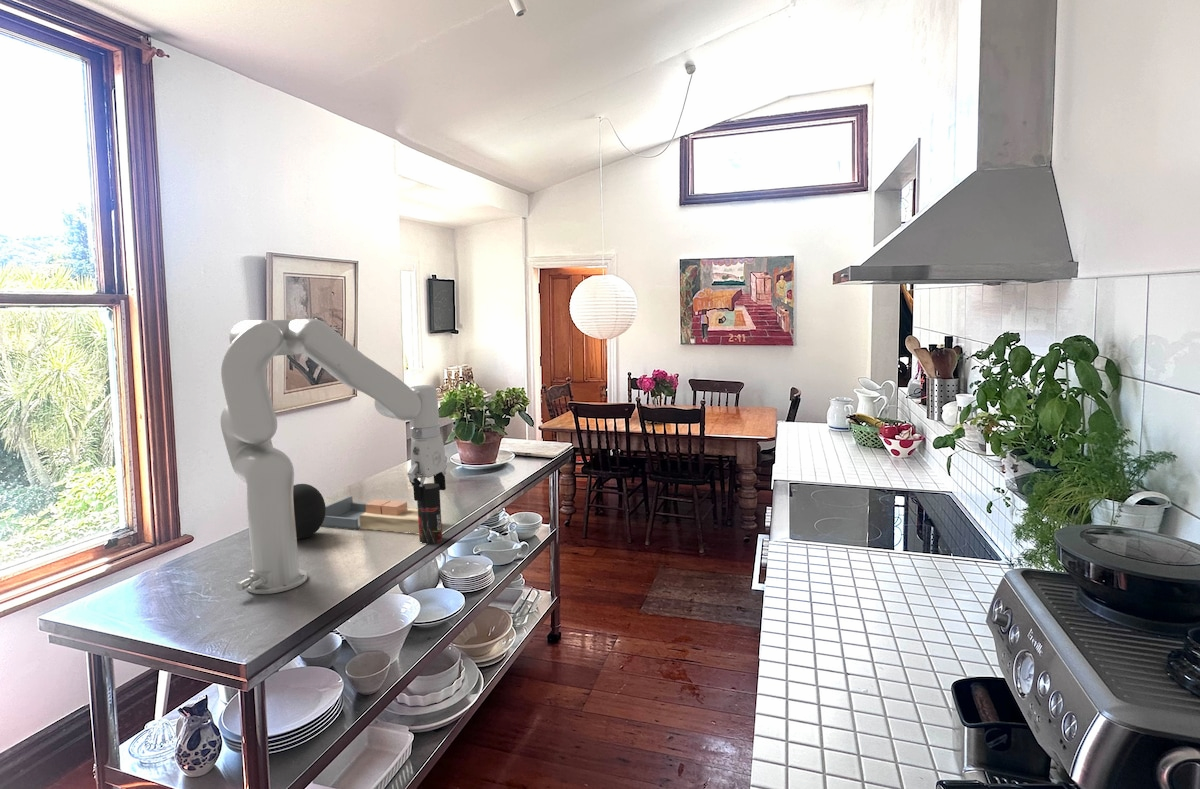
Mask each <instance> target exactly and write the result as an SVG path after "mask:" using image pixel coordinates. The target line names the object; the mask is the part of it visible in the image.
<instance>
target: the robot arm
mask: <svg viewBox="0 0 1200 789" xmlns="http://www.w3.org/2000/svg"><path fill="white" fill-rule="evenodd" d="M228 337H229V344H230V345H229V347H228V348H227V350H226V352H225V353H224V356H223V359H222V363H221V368H220V370H221V372H220V375H221V376H220V377H221V383H222V387H223V391H224V396H225V401H226V405H225V406H224V408H223V410H222V412H221V415H220V429H221V432H222V436H223V441H224V443H225V446H226V451H227V454H228V457H229V461H230V463H231V467H232V470H233V472H234V474H236V476H237V477H238V478H239V479H240V480H241V481H242V482H244V483H246V517H247V525H248V534H249V535H248V536H249V545H250V555H251V568H252V569H251V570H248V576H247V577H246V579H242V580H241V581H238V582H236V583H235V588H236V591H238V592H242V591H244V590H245V589H246V590H247V592H249V593H251V594H255V595H269V594H278V593H282V592H286V591H289V590H292V589H295V588H296V587H299V586H301V585H302V584H303V583H305V582H306V581H307V579H308V572H307V570H305V569H303V568H300V563H299V562H300V561H299V551H298V550H299V549H298V540H297V539H298V538H297V537H296V525H295V514H294V501H293V487H294V485H295V482H294V481H295V469H294V466H293V465H294V464H293V463H292V460H291V458H290V457H289V456H288V455H287V454H286V453H285V452H283V451H282V450H280V449H278V448H275V447H274V445H273V442H272V441H273V440H272V438H273V437H274V436H275V434H276V432H277V430H278V419H277V415H276V412H275V409H274V406H273V402H272V398H271V394H270V391H269V390H270V389H269V386H268V381H267V369H268V366H269V364H270V362H271V360H272V359H273V358H274V357H276V356H288V355H289V356H290V355H291V356H292V355H305V356H307V357H308V358H309V359H310V360H312V361H313V362H314V363H315V364H317V365H318V366H319V367H321V368H322V369H324V370H325V371H326V372H327V373H329V374H330V375H331V377H333V378H335V379H336V380H337V381H339V382H340V383H341V384H343V385H344V386H345V385H346V386H347V387H348V388H351V389H353V390H356V391H357V392H358V391H359V392H361V393H363V394H365V395H366V396H368V397H370V398H372V399H373V400H374V402H373V403H374V407H375V409H376V411H377V412H378V413H379V414H380V415H382V416H384V417H386V418H389V419H390V418H391V419H397V420H399V421H402V422H403V421H404V422H406V421H409V429H410V439H411V442H410V443H411V444H410V467H411V468H410V469H409V470H408V471H407V474H406V475H407V477H408V480H409V483H410V484H411V486H412V489H413V500H414V501H416V502H417V501H425V500H426V493H425V486H423V484H425V481H426V478H428V479H429V478H431V477H432V478H433V483H436V484H439V487H440V491H445V490H446V488H447V487H446V476H445V475H446V474H447V472H446V469H447V462H448V457H447V456H446V451H445V446H444V445H445V444H444V441H443V437H442V434H441V428H440V413H439V403H438V402H439V401H438V391H437V388H436V387H435V386H434V385H430V384H429V385H428V384H427V385H426V384H425V385H424V384H423V385H415V386H411V387H410V386H408V385H407V384H406V383H404V382H403V381H402V380H401V379H400V378H398V377H397V376H396V375H394V374H393V373H392V372H391V371H388V370H387V369H386V368H384V367H383V366H381V365H380V364H378V363H376V362H375V361H374V360H372V359H371V358H369V357H367V356H366V355H364V354H363V353H362V352H361V351H360V350H359V349H357V347H355V346H354V345H352V344H351V343H350V342H349V341H348V340H346V338H344V337H343V336H342V335H340V333H338V332H337V331H336V330H335V329H333V328H332V327H331V326H330V325H329V324H327V323H326V322H324V321H322V320H320V319H318V318H292V319H264V320H263V319H254V320H253V319H251V320H250V319H246V320H243V321H240V322H238V323H236V324H235V325H234V326H233V328H231V331H230V334H229V336H228ZM419 479H420V480H419Z"/></svg>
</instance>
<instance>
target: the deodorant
mask: <svg viewBox="0 0 1200 789" xmlns="http://www.w3.org/2000/svg"><path fill="white" fill-rule="evenodd" d="M423 486H425V493H426V500H425V501H416V503H417V504H416V505H417V508H418V523H419V535H418V537H419V543H420V542H422V543H426V544H425V545H433V544H437V543H440V542H441V541H443V530H442V528H443V526H442V525H443V524H442V510H441V492H440V491H441V490H440V487H439V484H436V483H434V482H432V483H431V482H427V483H424V484H423ZM422 543H421V544H422Z"/></svg>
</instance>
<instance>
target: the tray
mask: <svg viewBox="0 0 1200 789" xmlns="http://www.w3.org/2000/svg"><path fill="white" fill-rule="evenodd" d="M365 504H367V503H366V502H365V503H364V502H363V503H362V502H355V501H353V495H350V496H346V497H344V498H342V499H339V500H336V501H335V502H332V503H330V504H327V505H325V507H326V512H325V518H324V521H323V523H322V525H321V527H324V526H325V527H327V528H334V527H338V529H344V528H348V529H347V530H354V529H357V530H359V529H360V515H361V514H363V513H365V512H366V505H365ZM325 527H324V528H325ZM358 528H359V529H358Z"/></svg>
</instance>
